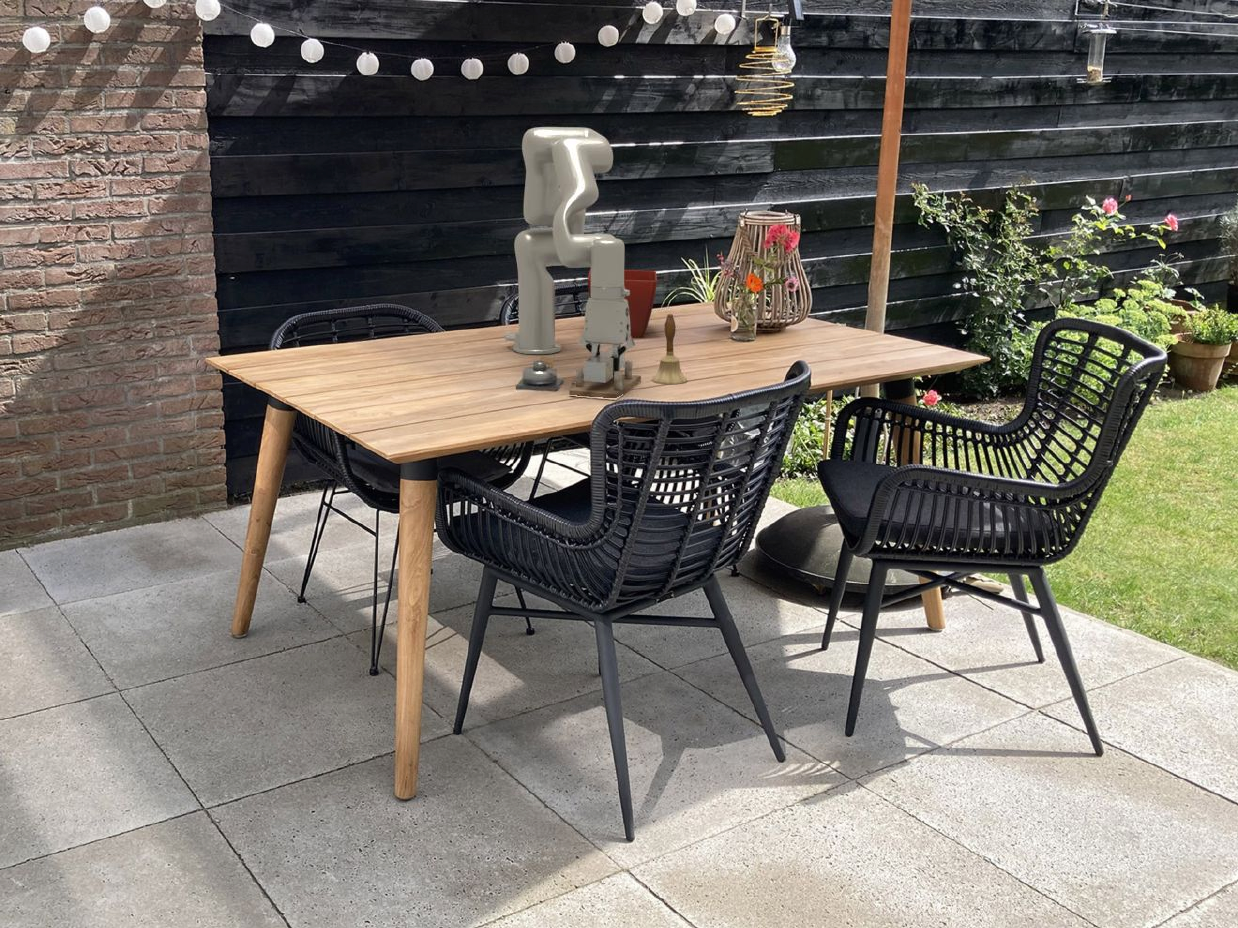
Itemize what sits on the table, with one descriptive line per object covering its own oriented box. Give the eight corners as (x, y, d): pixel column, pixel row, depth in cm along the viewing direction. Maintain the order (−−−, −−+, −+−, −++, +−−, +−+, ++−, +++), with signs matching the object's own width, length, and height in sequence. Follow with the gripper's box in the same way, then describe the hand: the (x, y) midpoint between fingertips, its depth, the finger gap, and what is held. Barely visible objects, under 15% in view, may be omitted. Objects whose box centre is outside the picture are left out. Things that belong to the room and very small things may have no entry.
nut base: (577, 391, 285) (577, 388, 285) (515, 389, 287) (515, 385, 286) (583, 382, 294) (583, 379, 294) (523, 380, 296) (523, 376, 296)
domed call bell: (553, 385, 286) (553, 366, 285) (519, 383, 287) (519, 365, 286) (563, 372, 299) (563, 354, 298) (531, 370, 300) (531, 353, 299)
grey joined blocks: (608, 365, 297) (608, 346, 295) (628, 366, 295) (628, 348, 294) (584, 381, 280) (584, 361, 279) (605, 382, 279) (605, 363, 278)
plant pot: (655, 341, 345) (657, 280, 340) (586, 339, 345) (587, 278, 340) (654, 328, 363) (656, 270, 359) (589, 327, 364) (589, 269, 359)
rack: (569, 396, 281) (569, 372, 279) (596, 378, 299) (596, 355, 297) (615, 400, 278) (616, 376, 276) (640, 381, 296) (641, 359, 294)
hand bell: (662, 385, 293) (664, 318, 288) (645, 378, 300) (647, 312, 295) (693, 382, 296) (695, 316, 292) (675, 375, 303) (677, 310, 299)
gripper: (646, 293, 283) (644, 372, 288) (578, 289, 288) (577, 367, 293) (637, 298, 276) (635, 379, 281) (567, 294, 281) (567, 373, 286)
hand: (606, 372), depth 287 cm, fingers closed on grey joined blocks, 3 cm apart
